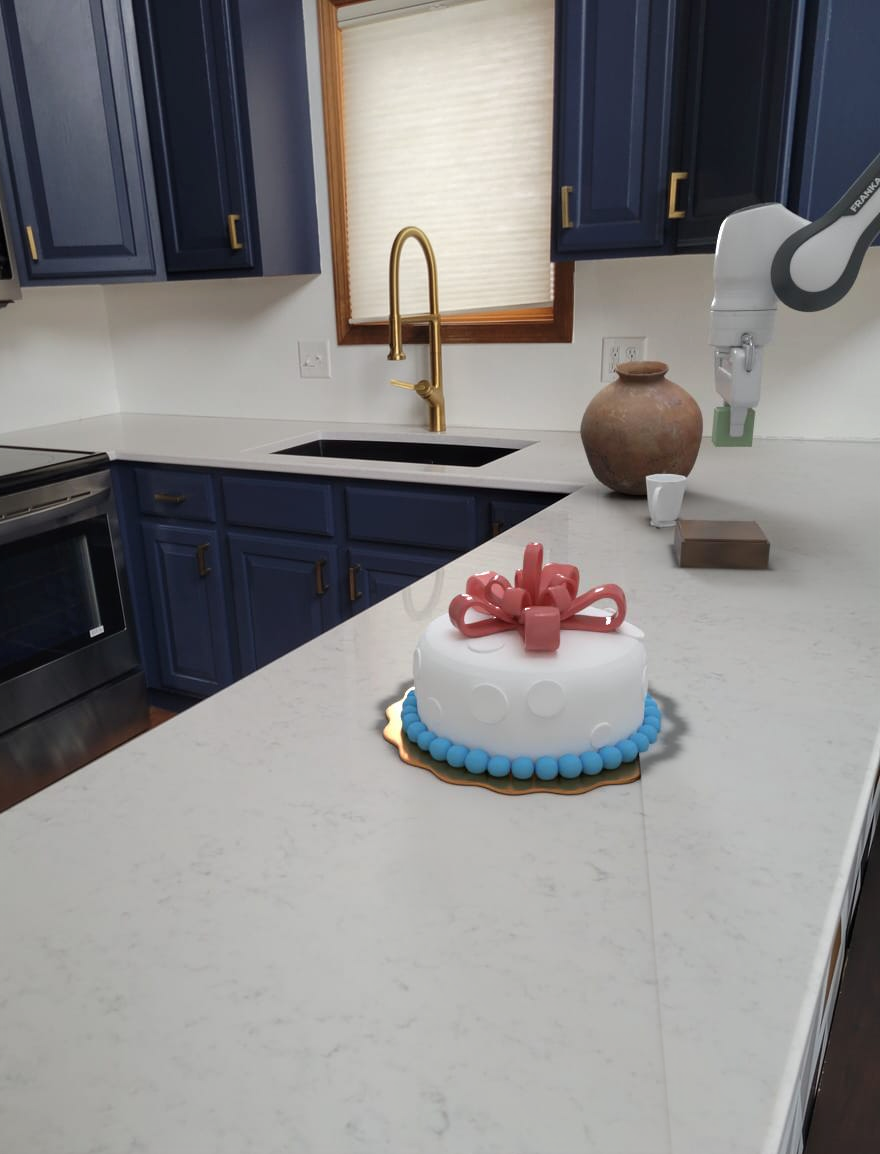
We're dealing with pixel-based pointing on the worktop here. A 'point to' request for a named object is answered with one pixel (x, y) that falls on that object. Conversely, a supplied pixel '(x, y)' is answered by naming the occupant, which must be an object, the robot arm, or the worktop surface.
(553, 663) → the wedding cake
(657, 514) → the cup
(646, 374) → the pottery
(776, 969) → the worktop surface
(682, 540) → the block
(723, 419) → the block
